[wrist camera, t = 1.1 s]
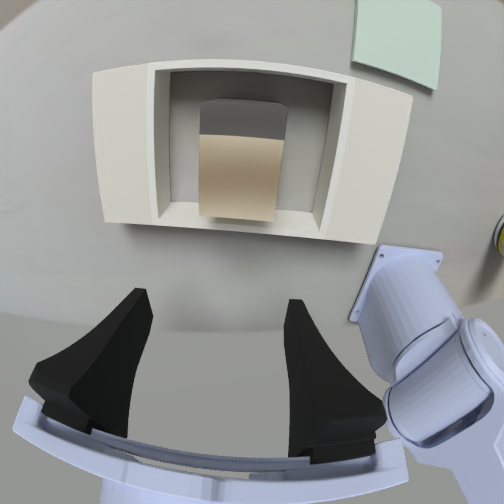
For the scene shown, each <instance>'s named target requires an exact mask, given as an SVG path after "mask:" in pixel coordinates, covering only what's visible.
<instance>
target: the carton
mask: <svg viewBox="0 0 504 504" xmlns="http://www.w3.org/2000/svg"><path fill="white" fill-rule="evenodd" d="M180 71H239V72H255V73H267V74H276V75H284V76H292V77H299V78H305V79H311V80H317V81H322V82H327V83H332V84H334V86H333V94H332V101H331V108H330V115H329V122H328V128H327V135H326V141H325V147H324V153H323V159H322V164H321V170H320V175H319V181H318V186H317V191H316V196H315V201H314V206H313V211H312V213H308V212H299V211H290V210H280V209H275V215H274V222H269V221H258V220H246V219H234V218H222V217H208V216H199V203H192V202H174V201H171V196H170V171H169V99H170V76H171V72H180ZM412 100H413V96H411V95H409V94H406V93H403V92H400V91H397V90H395V89H392V88H389V87H386V86H383V85H379V84H376V83H373V82H369V81H366V80H362V79H359V78H355V77H351V76H347V75H343V74H338V73H334V72H329V71H324V70H319V69H314V68H308V67H302V66H296V65H289V64H281V63H272V62H261V61H248V60H223V59H204V60H178V61H165V62H155V63H146V64H138V65H132V66H125V67H119V68H114V69H109V70H104V71H99V72H95V73H93V82H92V106H93V131H94V145H95V156H96V166H97V174H98V182H99V189H100V196H101V202H102V208H103V213H104V219H105V222H112V223H129V224H145V225H160V226H174V227H188V228H201V229H214V230H226V231H239V232H250V233H262V234H273V235H284V236H294V237H305V238H315V239H325V240H335V241H344V242H354V243H363V244H372V245H375V243H376V241H377V238H378V235H379V232H380V229H381V226H382V223H383V220H384V217H385V214H386V210H387V207H388V204H389V201H390V197H391V194H392V190H393V187H394V183H395V179H396V176H397V172H398V168H399V164H400V160H401V156H402V152H403V147H404V143H405V138H406V133H407V128H408V123H409V118H410V112H411V106H412Z"/></svg>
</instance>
